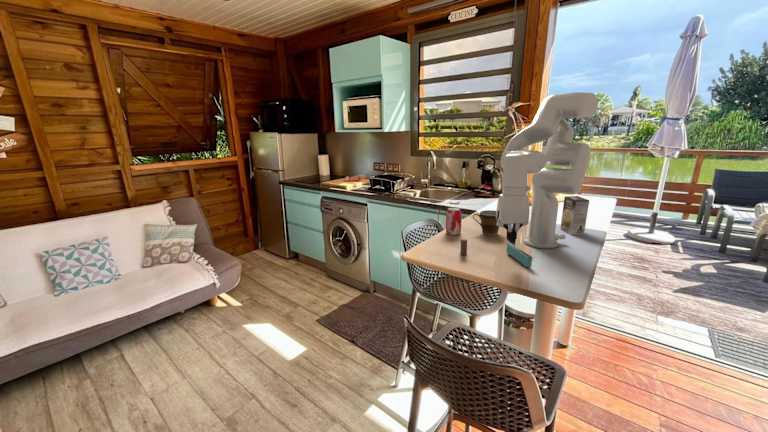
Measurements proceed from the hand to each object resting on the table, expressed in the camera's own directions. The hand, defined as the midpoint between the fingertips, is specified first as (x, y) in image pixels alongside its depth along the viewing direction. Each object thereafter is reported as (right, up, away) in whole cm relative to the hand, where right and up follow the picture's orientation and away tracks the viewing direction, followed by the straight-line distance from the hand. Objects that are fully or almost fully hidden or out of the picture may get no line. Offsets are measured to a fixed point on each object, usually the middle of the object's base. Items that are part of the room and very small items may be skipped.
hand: (511, 241), depth 108 cm
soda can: (-12, 0, +36) cm, 38 cm away
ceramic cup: (+3, +1, +34) cm, 34 cm away
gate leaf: (+4, -7, +4) cm, 9 cm away
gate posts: (-5, -6, +11) cm, 13 cm away
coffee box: (+42, +1, +33) cm, 53 cm away
